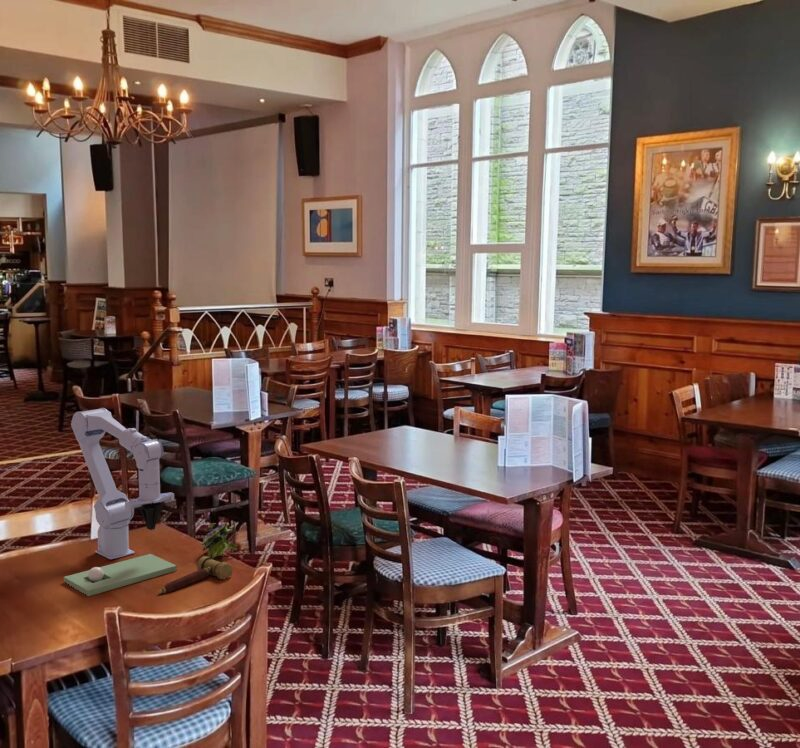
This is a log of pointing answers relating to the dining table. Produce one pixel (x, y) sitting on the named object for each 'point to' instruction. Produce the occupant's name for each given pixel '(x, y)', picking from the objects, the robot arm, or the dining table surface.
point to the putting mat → (121, 574)
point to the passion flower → (218, 540)
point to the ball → (95, 574)
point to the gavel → (200, 574)
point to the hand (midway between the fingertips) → (150, 528)
